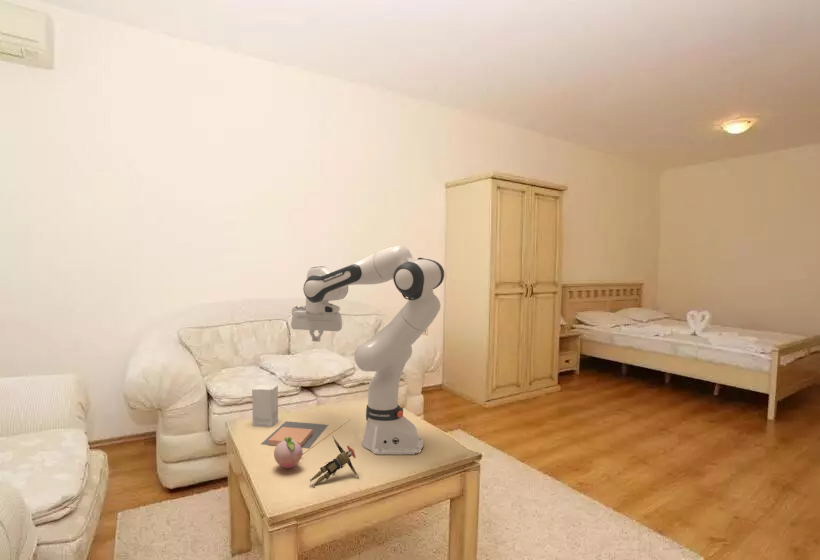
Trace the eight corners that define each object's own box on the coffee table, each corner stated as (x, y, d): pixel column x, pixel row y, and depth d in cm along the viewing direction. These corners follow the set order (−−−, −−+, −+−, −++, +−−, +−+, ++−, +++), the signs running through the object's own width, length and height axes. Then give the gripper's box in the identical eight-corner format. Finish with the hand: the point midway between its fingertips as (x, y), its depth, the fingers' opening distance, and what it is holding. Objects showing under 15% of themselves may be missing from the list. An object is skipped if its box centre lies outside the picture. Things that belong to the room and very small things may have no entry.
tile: (312, 429, 160) (300, 442, 148) (312, 434, 160) (300, 447, 148) (282, 426, 161) (268, 439, 149) (282, 431, 161) (268, 445, 149)
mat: (328, 425, 169) (328, 424, 169) (309, 449, 148) (309, 448, 148) (285, 422, 172) (285, 421, 172) (260, 445, 150) (260, 444, 150)
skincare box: (278, 422, 171) (279, 384, 171) (271, 428, 165) (272, 389, 164) (258, 421, 172) (259, 383, 172) (251, 427, 166) (251, 388, 165)
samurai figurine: (321, 505, 128) (373, 462, 138) (327, 506, 120) (382, 461, 130) (294, 459, 131) (346, 420, 141) (297, 457, 122) (353, 416, 133)
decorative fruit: (269, 465, 135) (270, 435, 135) (294, 459, 140) (294, 429, 140) (279, 478, 128) (280, 446, 127) (305, 471, 133) (306, 439, 132)
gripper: (288, 306, 166) (288, 341, 167) (339, 308, 164) (338, 344, 165) (295, 305, 173) (294, 338, 173) (343, 307, 170) (342, 341, 171)
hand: (316, 341), depth 169 cm, fingers closed
